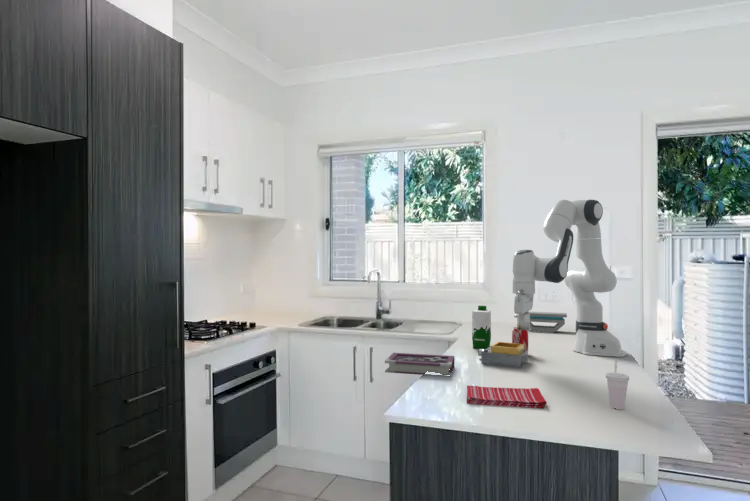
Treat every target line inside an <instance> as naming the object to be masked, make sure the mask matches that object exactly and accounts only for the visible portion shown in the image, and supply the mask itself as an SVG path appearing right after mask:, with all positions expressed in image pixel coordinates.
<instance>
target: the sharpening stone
mask: <svg viewBox="0 0 750 501" xmlns="http://www.w3.org/2000/svg"><path fill="white" fill-rule="evenodd" d="M529 312H530V331H532V332H533V331H540V332H539V333H545V332H555V333H556V332H557V331H559V329H561V328H562V327H563V326H565V323H566V320H565V318H567V317H568V315H567V314H568V313H567V312H549V311H548V312H547V311H529ZM533 322H535V323H551V324H555V325H539V324H538V325H534V324H533Z"/></svg>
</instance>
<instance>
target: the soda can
mask: <svg viewBox="0 0 750 501" xmlns="http://www.w3.org/2000/svg"><path fill="white" fill-rule="evenodd" d="M511 335H512V336H511V337H512V338H511V343H517V344H524V349H526V350H528V351H529V330H518V329H517V326H515V327H513V330H512V333H511Z"/></svg>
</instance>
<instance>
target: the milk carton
mask: <svg viewBox="0 0 750 501" xmlns="http://www.w3.org/2000/svg"><path fill="white" fill-rule="evenodd" d="M471 317H472V318H471V319H472V320H471V340H472V349H478V350H479V349H487V348H488V347H490V346H491V342H492V311H491V309H487V305H478V306H477V309H474V310H472V316H471Z"/></svg>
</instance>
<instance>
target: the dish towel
mask: <svg viewBox="0 0 750 501" xmlns="http://www.w3.org/2000/svg"><path fill="white" fill-rule="evenodd" d="M547 403H548V402H547V401H546V399H545V398H544V396H543V395H542V392H541V391H540V389H539V388H537V387H533V388H532V387H531V388H530V387H529V388H522V387H521V388H520V387H518V388H515V387H489V386H488V387H486V386H479V385H466V404H473V405H482V406H494V407H495V406H496V407H511V408H513V407H514V408H526V409H527V408H529V409H530V408H531V409H545V407H544V406H545V405H547Z"/></svg>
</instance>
